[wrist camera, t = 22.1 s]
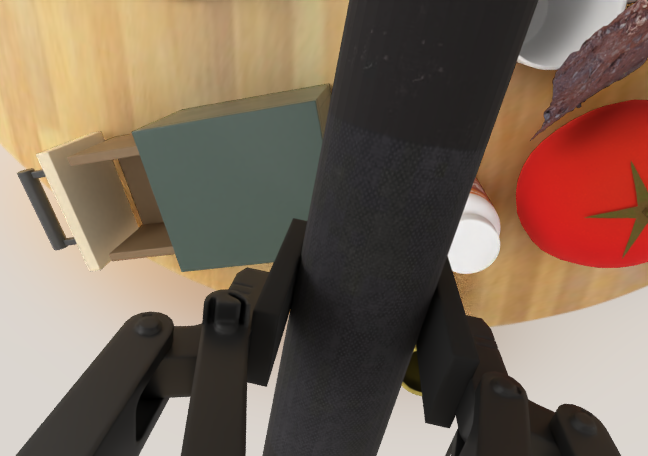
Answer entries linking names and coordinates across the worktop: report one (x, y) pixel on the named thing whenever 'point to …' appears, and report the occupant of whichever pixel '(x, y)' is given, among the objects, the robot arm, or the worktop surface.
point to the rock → (600, 61)
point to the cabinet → (235, 174)
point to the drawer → (98, 200)
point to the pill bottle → (475, 234)
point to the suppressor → (386, 209)
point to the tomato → (590, 188)
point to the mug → (564, 29)
